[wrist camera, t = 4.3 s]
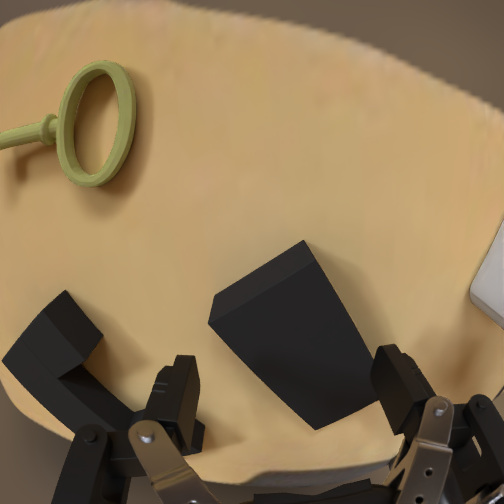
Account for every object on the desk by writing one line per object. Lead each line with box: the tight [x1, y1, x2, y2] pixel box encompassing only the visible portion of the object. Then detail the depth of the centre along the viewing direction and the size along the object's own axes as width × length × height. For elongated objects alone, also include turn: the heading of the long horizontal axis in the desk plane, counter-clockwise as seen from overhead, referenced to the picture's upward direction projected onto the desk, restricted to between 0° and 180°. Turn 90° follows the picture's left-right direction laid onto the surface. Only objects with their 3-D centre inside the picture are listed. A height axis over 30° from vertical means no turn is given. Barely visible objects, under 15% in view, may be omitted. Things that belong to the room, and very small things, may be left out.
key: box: [0, 60, 136, 187], centre depth 12 cm, size 7×12×2 cm, turn 104°
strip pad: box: [208, 240, 379, 430], centre depth 16 cm, size 6×12×3 cm, turn 34°
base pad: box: [2, 290, 205, 456], centre depth 18 cm, size 16×12×3 cm
